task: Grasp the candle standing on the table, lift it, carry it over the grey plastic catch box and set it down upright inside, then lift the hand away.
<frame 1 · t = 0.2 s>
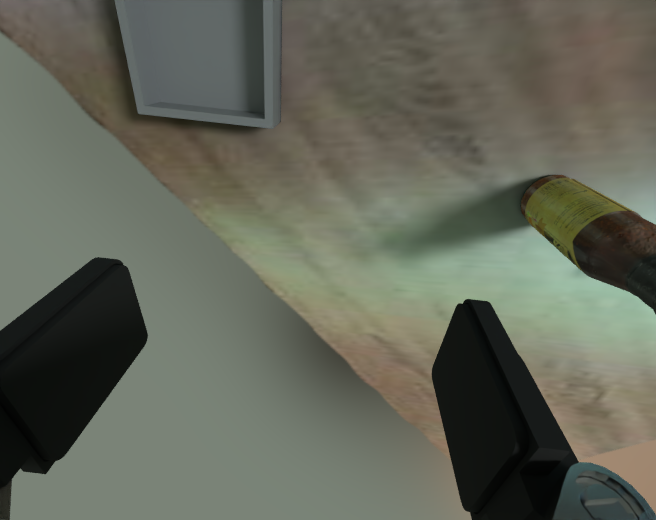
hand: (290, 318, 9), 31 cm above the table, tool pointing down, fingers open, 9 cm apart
sauce bottle: (547, 197, 38), on the table
catch box: (213, 40, 32), on the table
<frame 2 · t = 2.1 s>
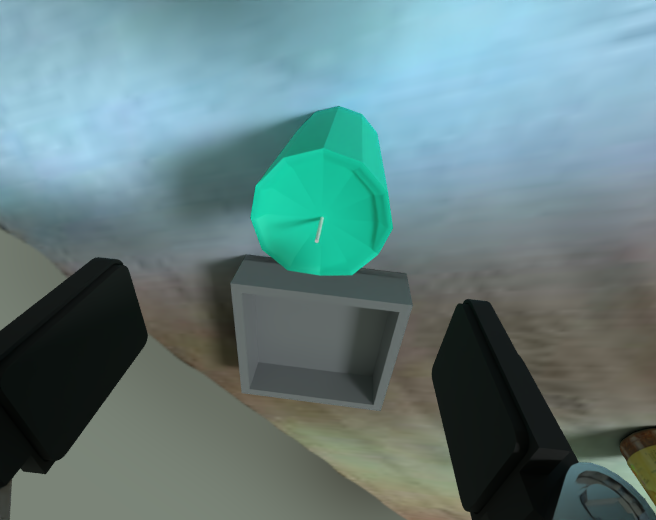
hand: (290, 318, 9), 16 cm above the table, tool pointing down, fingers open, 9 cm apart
candle: (336, 153, 22), on the table
sauce bottle: (647, 438, 37), on the table
catch box: (320, 322, 31), on the table
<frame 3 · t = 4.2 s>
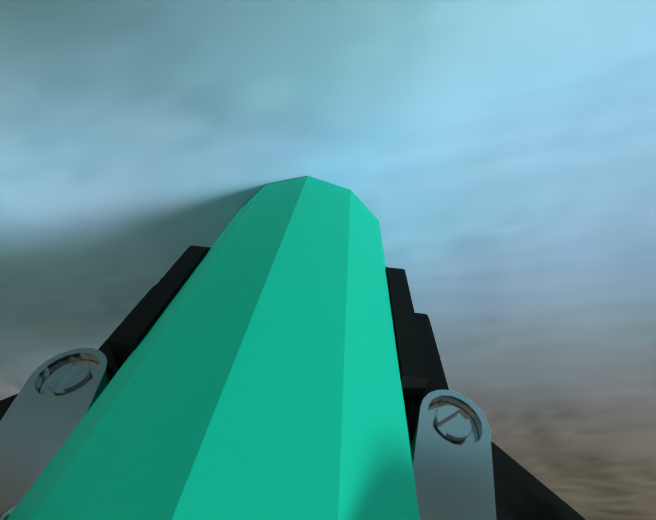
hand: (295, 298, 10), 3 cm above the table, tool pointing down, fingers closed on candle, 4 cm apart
candle: (308, 248, 13), on the table, touching gripper
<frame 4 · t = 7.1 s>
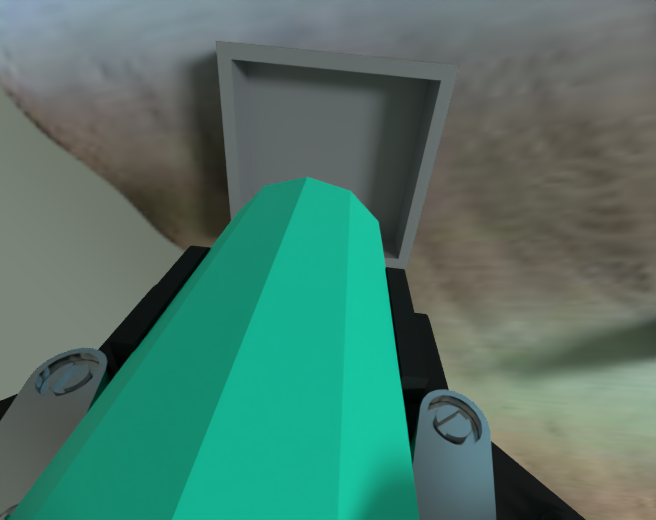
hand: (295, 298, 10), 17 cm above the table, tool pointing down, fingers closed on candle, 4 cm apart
candle: (307, 249, 13), point 14 cm above the table, touching gripper
catch box: (330, 157, 25), on the table
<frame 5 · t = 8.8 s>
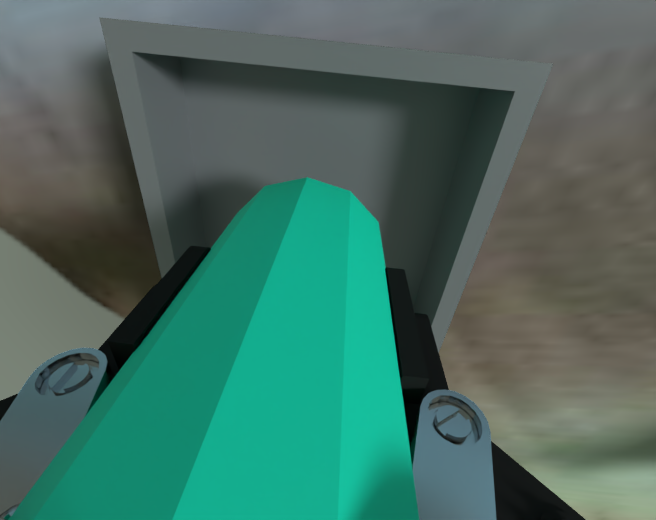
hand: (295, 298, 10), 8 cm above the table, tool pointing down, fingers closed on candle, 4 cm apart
candle: (307, 249, 13), point 5 cm above the table, touching gripper
catch box: (319, 201, 17), on the table
when the fingers open (5 cm above the table, at t = 10.2 s): candle drops 1 cm, resting on catch box.
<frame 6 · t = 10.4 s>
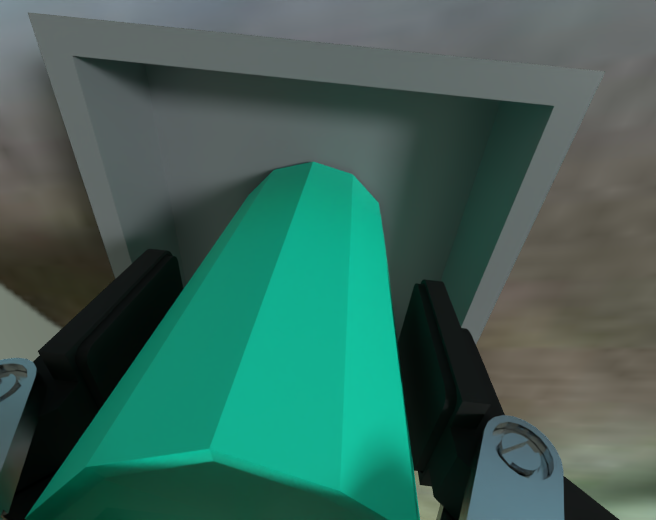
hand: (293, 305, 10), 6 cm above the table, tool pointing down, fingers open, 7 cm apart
candle: (313, 229, 14), point 1 cm above the table, touching catch box
catch box: (313, 225, 15), on the table
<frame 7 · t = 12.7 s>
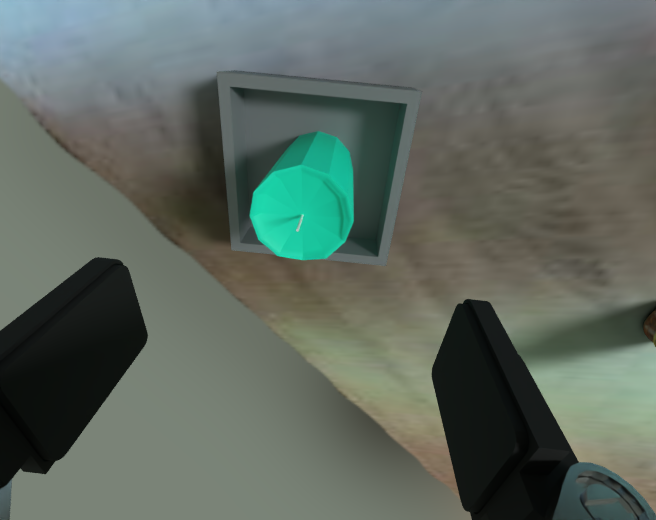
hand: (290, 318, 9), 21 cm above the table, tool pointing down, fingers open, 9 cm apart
candle: (317, 167, 28), point 1 cm above the table, touching catch box
catch box: (317, 168, 28), on the table
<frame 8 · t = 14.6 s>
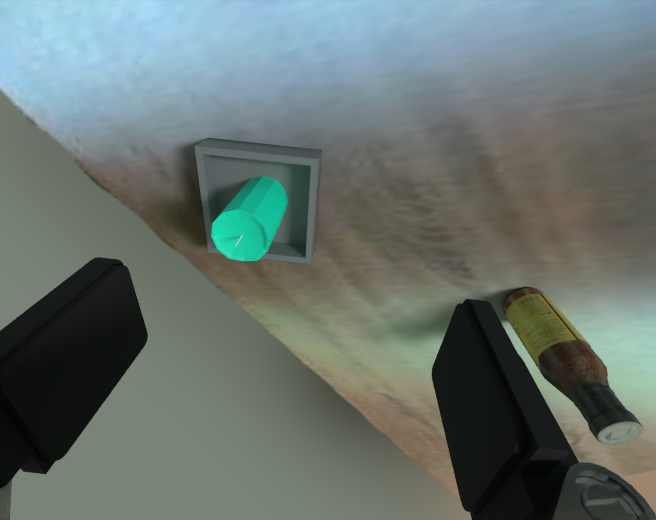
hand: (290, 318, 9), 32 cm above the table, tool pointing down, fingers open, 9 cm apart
candle: (265, 198, 42), point 1 cm above the table, touching catch box
sauce bottle: (524, 301, 48), on the table
catch box: (265, 197, 42), on the table
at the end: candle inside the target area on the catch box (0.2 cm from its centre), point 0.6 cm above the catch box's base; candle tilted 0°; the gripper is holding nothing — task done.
